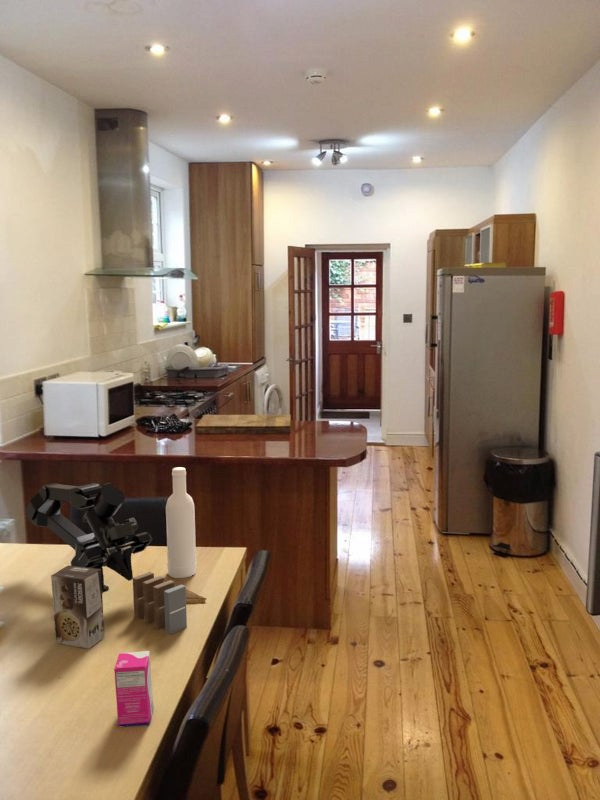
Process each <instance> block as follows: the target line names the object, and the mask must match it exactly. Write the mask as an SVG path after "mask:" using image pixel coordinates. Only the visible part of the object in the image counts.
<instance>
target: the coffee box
mask: <svg viewBox="0 0 600 800" xmlns="http://www.w3.org/2000/svg"><path fill="white" fill-rule="evenodd" d="M50 580H51V591H52V606H53V607H52V608H53V618H54V620H53V621H54V635H55V644H57V645H58V644H59V645H66V646H69V647H77V648H84V649H90V648H92V647H93V646H94V645H97V643H99V642H100V641H101V640H102V639H104V638H105V622H104V601H103V591H102V580H101V569H95V568H86V567H78V566H71V565H67V566H64V567H63V568H61V569H59V570H58V571H56V572H55V573H53V574H51V575H50Z"/></svg>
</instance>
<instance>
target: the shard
mask: <svg viewBox="0 0 600 800" xmlns="http://www.w3.org/2000/svg"><path fill="white" fill-rule="evenodd" d="M206 600H207V598H206V597H204V596H202V595H199V594H197V593H195V592H194V591H191V590H189V589H186V604H189V603H191V604H192V603H194V604H195V603H197V604H198V603H205V602H206Z"/></svg>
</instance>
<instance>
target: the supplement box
mask: <svg viewBox="0 0 600 800" xmlns="http://www.w3.org/2000/svg"><path fill="white" fill-rule="evenodd" d="M151 668H152V667H151V652H150V650H144V651H143V650H142V651H133V652H131V651H130V652H119V654H118V656H117V659H116V662H115V666H114V669H113V671H114V683H115V696H116V710H117V711H116V713H117V724H118V725H117V726H118V727H119V726H124V727H136V726H135V725H141V726H149V725H151V721H152V716H153V714H154V713H153V712H154V698H153V683H152V682H153V681H152V669H151Z"/></svg>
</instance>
